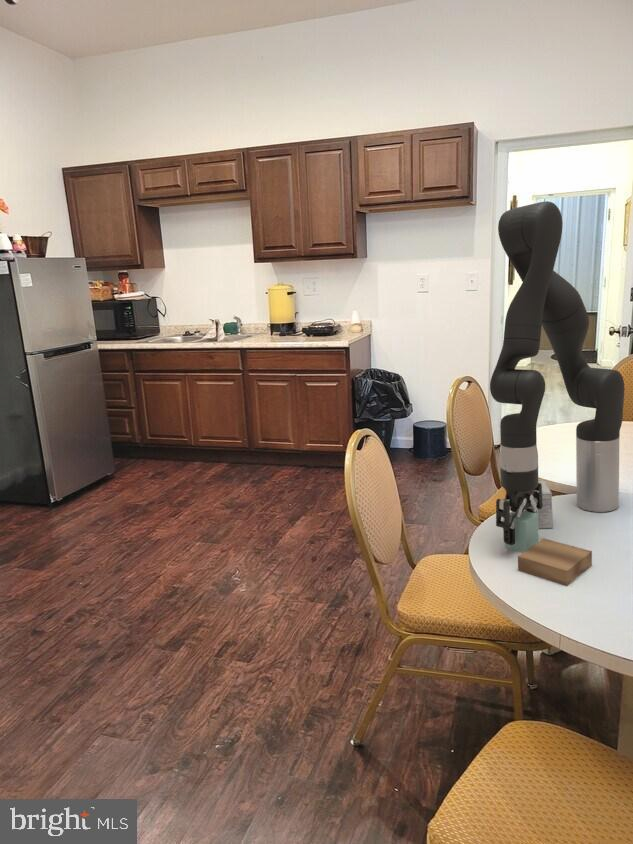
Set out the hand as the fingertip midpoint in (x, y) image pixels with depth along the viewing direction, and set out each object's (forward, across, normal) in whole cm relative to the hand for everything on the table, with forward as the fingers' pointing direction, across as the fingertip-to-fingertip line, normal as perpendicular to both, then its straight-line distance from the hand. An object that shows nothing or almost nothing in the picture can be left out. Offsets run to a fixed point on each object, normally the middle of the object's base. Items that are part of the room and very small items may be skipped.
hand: (520, 536), depth 130 cm
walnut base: (+2, +5, +10) cm, 11 cm away
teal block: (+2, 0, 0) cm, 2 cm away
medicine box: (+2, -13, -3) cm, 14 cm away
